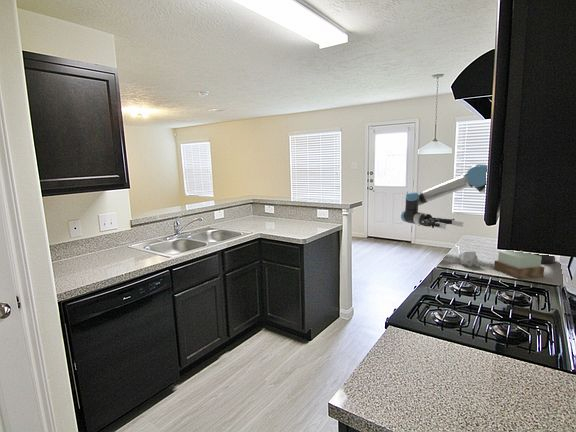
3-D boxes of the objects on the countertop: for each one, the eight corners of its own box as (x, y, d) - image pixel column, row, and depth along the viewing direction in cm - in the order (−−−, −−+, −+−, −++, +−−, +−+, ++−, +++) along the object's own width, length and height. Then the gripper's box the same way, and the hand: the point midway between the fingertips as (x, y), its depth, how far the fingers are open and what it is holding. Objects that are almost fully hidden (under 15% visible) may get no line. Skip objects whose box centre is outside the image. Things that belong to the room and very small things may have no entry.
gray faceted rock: (462, 268, 168) (476, 255, 164) (451, 256, 174) (465, 244, 170) (471, 271, 172) (485, 259, 168) (460, 260, 178) (473, 247, 174)
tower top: (517, 259, 165) (518, 250, 164) (540, 266, 153) (541, 256, 153) (497, 261, 162) (498, 251, 162) (519, 268, 151) (520, 258, 150)
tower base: (517, 268, 166) (518, 259, 166) (543, 277, 153) (544, 267, 152) (493, 270, 164) (494, 260, 163) (517, 279, 151) (518, 269, 150)
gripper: (437, 223, 202) (468, 230, 183) (407, 227, 192) (437, 234, 173) (438, 212, 201) (470, 216, 182) (408, 214, 190) (438, 220, 171)
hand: (454, 225), depth 177 cm, fingers open, 13 cm apart
